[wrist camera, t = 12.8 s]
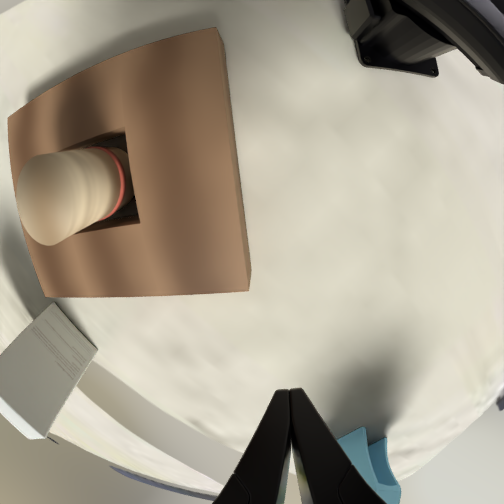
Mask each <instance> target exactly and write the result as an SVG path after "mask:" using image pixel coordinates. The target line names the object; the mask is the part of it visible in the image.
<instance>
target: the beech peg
mask: <svg viewBox="0 0 504 504" xmlns="http://www.w3.org/2000/svg"><path fill="white" fill-rule="evenodd" d="M133 195H134V188H133V182H132V176H131V170H130V163H129V157H128V154H127V153H126V152H124V151H123V150H121V149H119V148H116V147H100V146H95V147H88V148H85V149H80V150H70V151H62V152H55V153H48V154H41V155H37V156H34V157H32V158H31V159H30V160H28V161H27V163H26V164H25V165H24V167H23V168H22V170H21V173H20V175H19V178H18V183H17V190H16V200H17V208H18V212H19V216H20V219H21V221H22V224H23V226H24V227H25V229H26V231H27V232H28V233H29V235H30V236H31V237H32V238H33V239H34V240H35V241H37V242H38V243H40V244H43V245H47V246H51V245H55V244H57V243H59V242H61V241H62V240H64V239H66V238H67V237H69V236H71V235H73V234H75V233H76V232H78V231H80V230H82V229H83V228H85V227H87V226H89V225H91V224H93V223H95V222H96V221H100V220H103V219H106V218H107V217H109V216H111V215H112V214H114V213H115V212H116V211H118V210H120V209H122V208H123V207H125V206H126V205H127V204H128V203H129V202H130V201H131V199H132V197H133Z"/></svg>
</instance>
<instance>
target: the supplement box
mask: <svg viewBox="0 0 504 504" xmlns="http://www.w3.org/2000/svg"><path fill="white" fill-rule="evenodd" d="M97 351H98V350H97V349H96V348H95V347H94V346H93V345H92V344H91V343H90V342H89V341H88V340H87V339H86V338H85V337H84V336H83V334H82V333H81V332H80V331H79V330H78V329H77V328H76V327H75V326H74V325H73V324H72V323H71V321H70V320H69V319H68V318H67V317H66V316H65V314H64V313H63V312H62V311H61V310H60V309H59V307H58V306H57V305H56V304H55V303H54V302H53V303H51V304H50V305H49V306H48V307H47V308H46V309H45V310H44V311H43V312H42V313H41V314H40V315H39V316H38V317H37V318H36V319H35V320H34V321H33V322H32V323H31V324H29V325H28V326H27V327H26V328H25V329H24V330H23V331H22V332H21V333H20V334H19V336H18V337H17V338H16V339H15V340H14V341H13V342H12V343H11V344H10V345H9V346H8V347H7V348H6V349H5V350H4V351H3V353H2V354H1V355H0V413H1V414H2V415H3V416H4V417H5V418H6V419H7V420H8V421H9V422H10V423H11V424H12V425H13V426H15V427H16V428H17V429H18V430H19V431H20V432H21V433H22V434H23V435H25V436H26V437H27V438H28V439H38V438H46V437H47V434H48V432H49V430H50V428H51V426H52V424H53V423H54V421H55V419H56V417H57V416H58V414H59V412H60V411H61V409H62V407H63V405H64V404H65V402H66V401H67V399H68V397H69V396H70V394H71V393H72V391H73V389H74V388H75V386H76V385H77V383H78V381H79V380H80V378H81V377H82V375H83V374H84V372H85V370H86V369H87V367H88V365H89V364H90V362H91V361H92V359H93V358H94V356H95V355H96V353H97Z"/></svg>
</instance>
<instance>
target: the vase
mask: <svg viewBox="0 0 504 504" xmlns="http://www.w3.org/2000/svg"><path fill="white" fill-rule="evenodd" d="M337 441H338V443H339V444H340V446H341V447H342V449H343V450H344V452H345V453H346V455H347V456H348V457H349V459H350V460H351V462H352V465H354V466H355V467H356V469H357V470H358V472H359V473H360V474H361V476H362V477H363V478H364V479H365V481H366V482H367V483H368V484H369V486H370V487H371V488H372V489H373V490H374V491H375V492H376V493H377V494H378V495H379V496H380V497H381V498H382V499H383V500H384V501H385V502H386V503H387V504H399V503H400V497H401V488H400V485H399V484H398V482H397V480H396V479H395V477H394V475H393V473H392V471H391V468H390V465H389V462H388V457H387V438H383V439H381V440H379V441H377V442H376V443H374V444H372V445H370V446H368V444H367V436H366V428H365V427H363V426H362V427H360V428H359V429H357V430H355V431H353V432H351V433H349V434H347V435H345V436H343V437H341V438H339V439H337Z"/></svg>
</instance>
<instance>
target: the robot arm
mask: <svg viewBox="0 0 504 504" xmlns="http://www.w3.org/2000/svg"><path fill="white" fill-rule="evenodd" d="M344 1H345V4H346V8H345V10H344V12H345V16H346V19H347V23H348V27H349V31H350V36H351V38H352V39H353V40H355V43H356V48H357V53H358V58H359V62H360V63H361V65H363V66H364V67H368V68H378V69H386V70H393V71H400V72H406V73H412V74H417V75H423V76H427V77H432V78H433V77H437V76H438V75H439V71H438V66H437V62H436V58H435V57H437V56H439V55H442V54H444V53H447V52H449V51H452V50H454V49H459V50H460V51H461V52H462V53H463V54H464V55H465V56H466V57H467V58H468V59H469V60H470V61H471V62H472V63H473V64H474V65H475V66H476V67H475V68H476V69H477V70H478V71H479V73H480V74H481V75H483V76H488V77H490V78H491V79H492V80H494V81H497V82H499V83H501V84H504V0H344ZM364 58H367V59H368V60H369V63H368V62H366V61H365V60H364ZM431 69H432V70H433V72H434V73H432V71H431ZM291 444H292V452H293V458H294V463H295V469H296V474H297V479H298V485H299V490H300V495H301V501H302V504H387V503H386V502H385V501H384V500H383V499H382V498H381V497H380V496H379V495H378V494H377V493H376V492H375V491H374V490H373V489H372V488H371V487H370V486H369V484H368V483H367V482H366V481H365V479H364V478H363V477H362V476H361V474H360V473H359V472H358V470H357V469H356V467H355V466H354V465H352V462H351V460H350V459H349V457H348V456H347V455H346V453H345V452H344V450H343V449H342V447H341V446H340V444H339V443H338V441H337V440H336V438H335V437H334V435H333V434H332V432H331V431H330V429H329V428H328V427H327V425H326V424H325V422H324V421H323V419H322V417H321V416H320V414H319V413H318V411H317V410H316V408H315V407H314V405H313V404H312V402H311V401H310V399H309V398H308V396H307V395H306V393H305V392H304V390H303V389H302V388H293V389H290V390H288V389H279V390H276V391H275V393H274V395H273V397H272V399H271V401H270V403H269V405H268V407H267V410H266V412H265V414H264V416H263V418H262V420H261V422H260V424H259V426H258V427H257V429H256V431H255V433H254V435H253V437H252V439H251V441H250V443H249V445H248V447H247V448H246V450H245V452H244V454H243V456H242V458H241V459H240V461H239V463H238V465H237V467H236V468H235V470H234V474H232V475H231V477H230V478H229V480H228V482H227V483H226V485H225V486H224V488H223V489H222V491H221V493H220V494H219V495H218V497H217V498H216V499H215V500H214V502H213V503H212V504H284V500H285V493H286V485H287V479H288V471H289V463H290V455H291Z"/></svg>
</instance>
